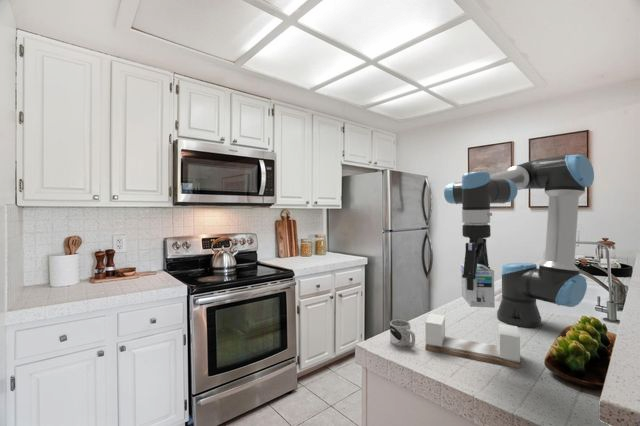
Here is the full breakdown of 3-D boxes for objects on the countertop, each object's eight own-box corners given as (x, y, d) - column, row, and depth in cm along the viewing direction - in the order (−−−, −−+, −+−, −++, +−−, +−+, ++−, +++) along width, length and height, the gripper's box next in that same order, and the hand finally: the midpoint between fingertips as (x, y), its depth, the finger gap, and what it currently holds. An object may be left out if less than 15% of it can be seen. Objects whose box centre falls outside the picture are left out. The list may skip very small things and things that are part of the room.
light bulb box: (495, 308, 88) (495, 270, 87) (469, 307, 89) (469, 270, 89) (483, 296, 98) (483, 263, 98) (460, 296, 100) (460, 262, 99)
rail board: (516, 353, 97) (516, 347, 97) (520, 368, 89) (520, 362, 89) (430, 337, 110) (430, 332, 110) (425, 349, 101) (425, 343, 101)
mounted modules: (517, 348, 97) (517, 326, 97) (519, 361, 89) (520, 337, 89) (429, 333, 109) (429, 313, 109) (425, 343, 101) (425, 322, 101)
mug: (386, 340, 108) (386, 321, 108) (400, 336, 111) (400, 318, 111) (406, 352, 99) (406, 332, 99) (422, 348, 102) (421, 328, 102)
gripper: (479, 227, 81) (480, 309, 82) (498, 221, 100) (499, 288, 100) (449, 226, 86) (451, 303, 87) (473, 221, 105) (474, 284, 105)
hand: (477, 295), depth 94 cm, fingers closed on light bulb box, 12 cm apart
